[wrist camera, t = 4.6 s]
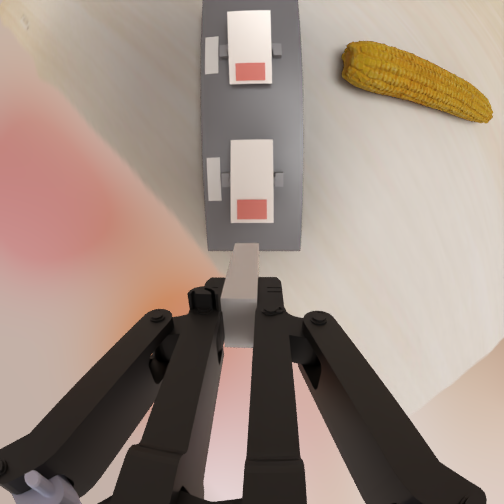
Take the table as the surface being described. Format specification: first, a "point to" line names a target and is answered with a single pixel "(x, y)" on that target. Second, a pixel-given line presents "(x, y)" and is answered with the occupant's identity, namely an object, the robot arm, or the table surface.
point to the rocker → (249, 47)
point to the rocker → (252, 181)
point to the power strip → (252, 125)
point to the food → (412, 80)
